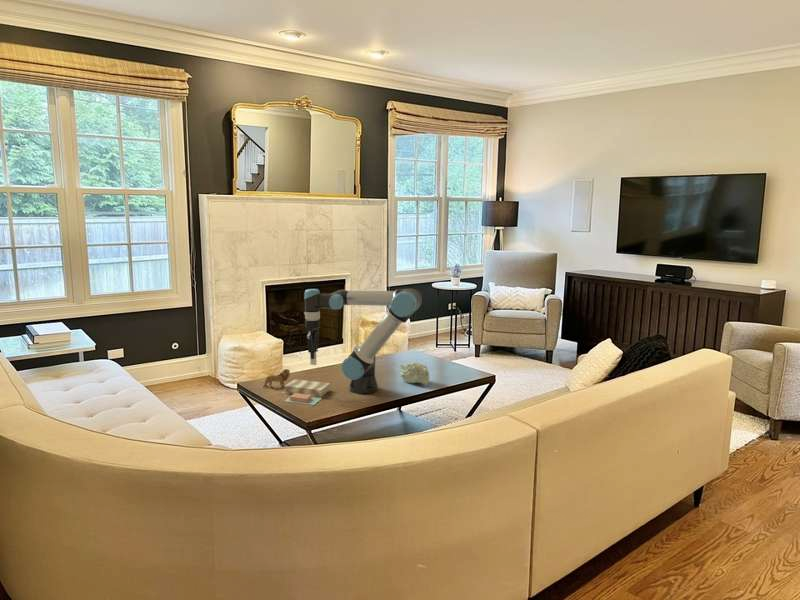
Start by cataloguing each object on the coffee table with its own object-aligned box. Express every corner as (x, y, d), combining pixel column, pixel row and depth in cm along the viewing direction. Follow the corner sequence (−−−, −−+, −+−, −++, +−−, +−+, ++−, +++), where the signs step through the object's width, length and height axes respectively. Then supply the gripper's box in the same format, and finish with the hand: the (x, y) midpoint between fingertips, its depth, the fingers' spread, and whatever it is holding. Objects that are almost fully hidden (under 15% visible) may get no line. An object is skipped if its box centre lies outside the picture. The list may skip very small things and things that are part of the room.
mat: (322, 398, 293) (322, 397, 292) (314, 405, 282) (314, 404, 282) (293, 394, 296) (293, 394, 296) (283, 401, 286) (283, 401, 286)
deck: (329, 390, 305) (330, 383, 304) (321, 397, 293) (321, 390, 293) (294, 386, 310) (294, 379, 309) (284, 393, 298) (284, 385, 297)
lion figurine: (288, 383, 314) (288, 367, 313) (291, 386, 310) (291, 370, 308) (261, 386, 307) (261, 370, 306) (264, 389, 303) (264, 373, 301)
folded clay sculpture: (405, 393, 325) (394, 368, 326) (423, 384, 331) (412, 359, 332) (420, 389, 309) (408, 363, 310) (439, 380, 316) (427, 354, 317)
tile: (306, 398, 284) (306, 402, 285) (311, 394, 290) (311, 398, 290) (289, 396, 287) (289, 400, 287) (294, 392, 292) (294, 396, 293)
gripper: (310, 316, 302) (311, 360, 306) (300, 321, 290) (301, 367, 294) (323, 317, 301) (324, 361, 304) (314, 322, 288) (315, 368, 292)
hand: (313, 364), depth 299 cm, fingers closed
